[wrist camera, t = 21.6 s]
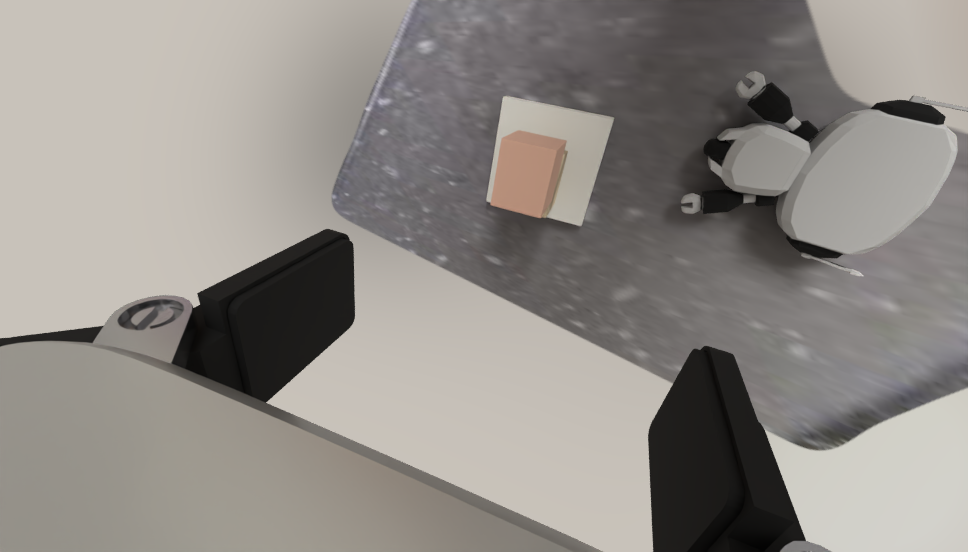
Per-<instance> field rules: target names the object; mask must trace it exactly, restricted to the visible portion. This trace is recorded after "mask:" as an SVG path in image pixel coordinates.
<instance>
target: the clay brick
mask: <svg viewBox="0 0 968 552" xmlns="http://www.w3.org/2000/svg"><path fill="white" fill-rule="evenodd" d="M566 142H567V141H566V140H562V139H557V138H553V137H548V136H544V135H539V134H534V133H530V132H525V131H521V130H517V131H515V132H513V133H511V134H509V135H507V136H505V137H503V138H502V139H501V145H500V151H499V157H498V163H497V169H496V175H495V181H494V187H493V193H492V199H491V205H492V206H496V207H499V208H503V209H507V210H511V211H515V212H518V213H522V214H526V215H530V216H533V217H537V218H541V217H542V215H543V214H544V212H545V211H546V209H547V208H548V206H549V204H550V203H551V201H552V198H553V194H554V190H555V186H556V182H557V178H558V174H559V170H560V166H561V162H562V158H563V154H564V150H565V146H566Z"/></svg>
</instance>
